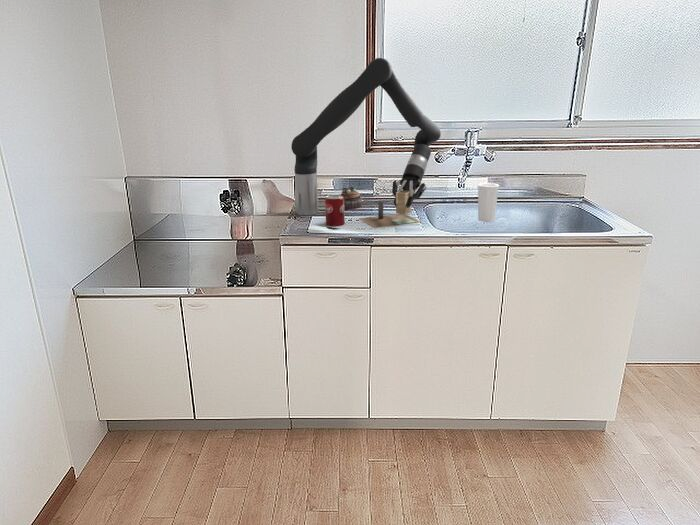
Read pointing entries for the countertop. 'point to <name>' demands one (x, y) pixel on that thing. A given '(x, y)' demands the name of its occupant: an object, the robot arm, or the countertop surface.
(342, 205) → the soda can
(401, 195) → the wooden collar
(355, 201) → the cupcake
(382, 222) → the post stand
